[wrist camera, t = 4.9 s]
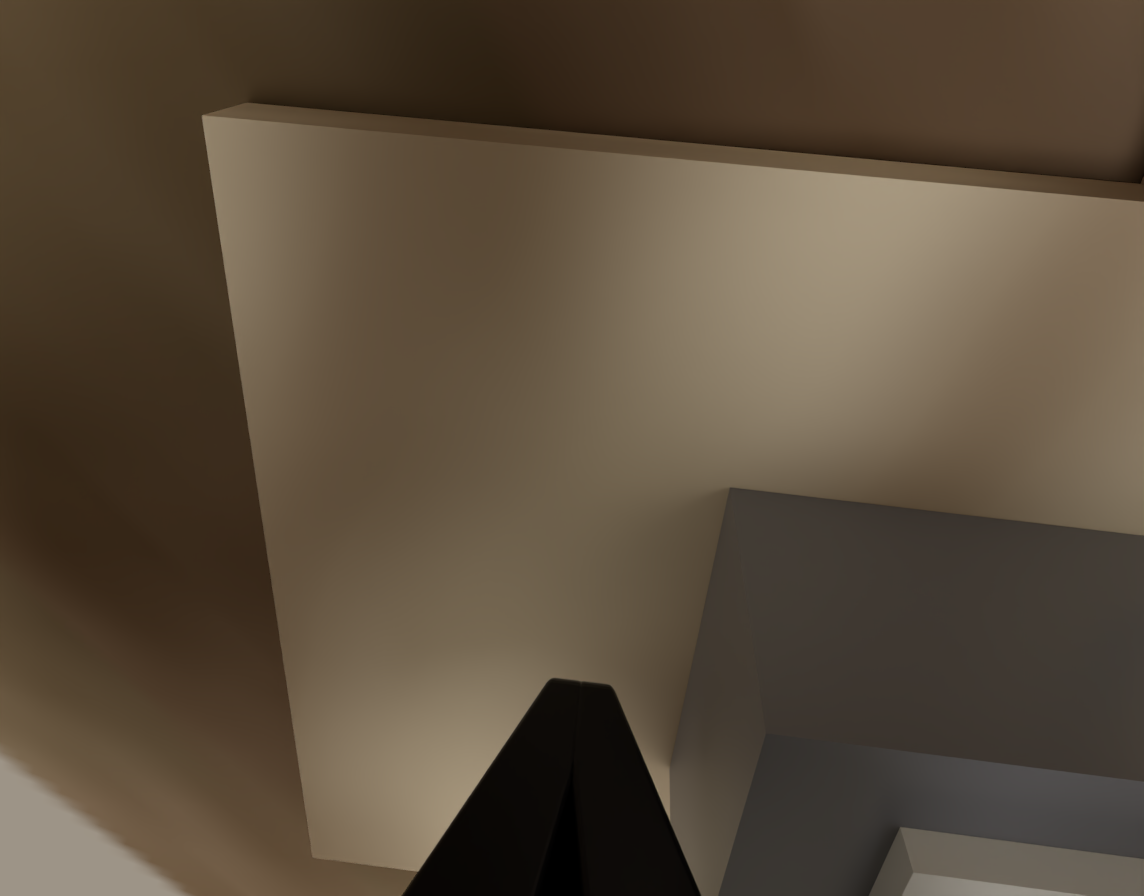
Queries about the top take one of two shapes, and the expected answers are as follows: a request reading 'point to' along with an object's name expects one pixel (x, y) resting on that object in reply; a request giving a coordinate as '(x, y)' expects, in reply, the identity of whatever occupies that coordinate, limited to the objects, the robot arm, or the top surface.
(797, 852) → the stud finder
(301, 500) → the board
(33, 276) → the top surface
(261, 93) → the top surface
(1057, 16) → the top surface
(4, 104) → the top surface
